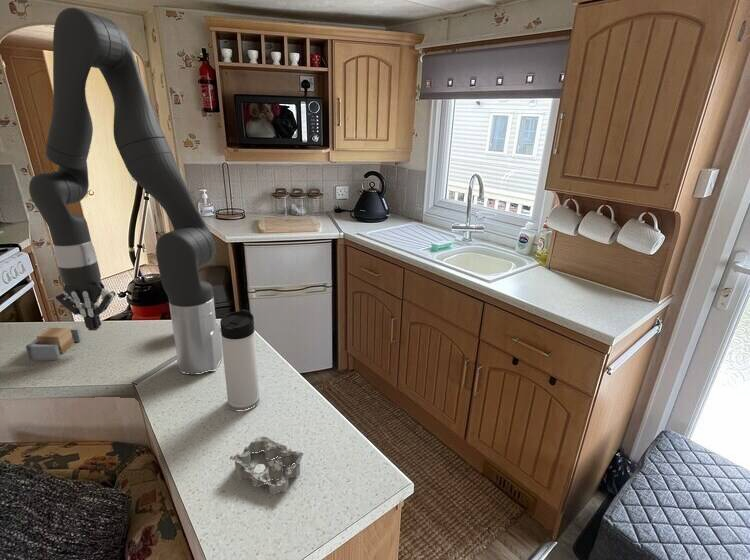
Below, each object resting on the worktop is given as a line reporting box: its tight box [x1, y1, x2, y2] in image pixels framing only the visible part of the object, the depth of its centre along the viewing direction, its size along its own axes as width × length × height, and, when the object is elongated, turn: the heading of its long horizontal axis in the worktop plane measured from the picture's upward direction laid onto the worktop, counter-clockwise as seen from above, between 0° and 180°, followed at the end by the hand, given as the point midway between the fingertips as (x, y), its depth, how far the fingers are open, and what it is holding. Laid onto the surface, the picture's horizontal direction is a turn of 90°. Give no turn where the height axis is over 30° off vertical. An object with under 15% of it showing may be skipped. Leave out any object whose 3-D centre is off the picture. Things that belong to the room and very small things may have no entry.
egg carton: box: [229, 436, 304, 495], centre depth 70 cm, size 11×8×4 cm
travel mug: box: [219, 308, 260, 411], centre depth 84 cm, size 6×7×20 cm
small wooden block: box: [35, 327, 76, 355], centre depth 103 cm, size 5×6×5 cm
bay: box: [25, 327, 83, 361], centre depth 103 cm, size 6×10×4 cm
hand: (94, 329), depth 102 cm, fingers closed
